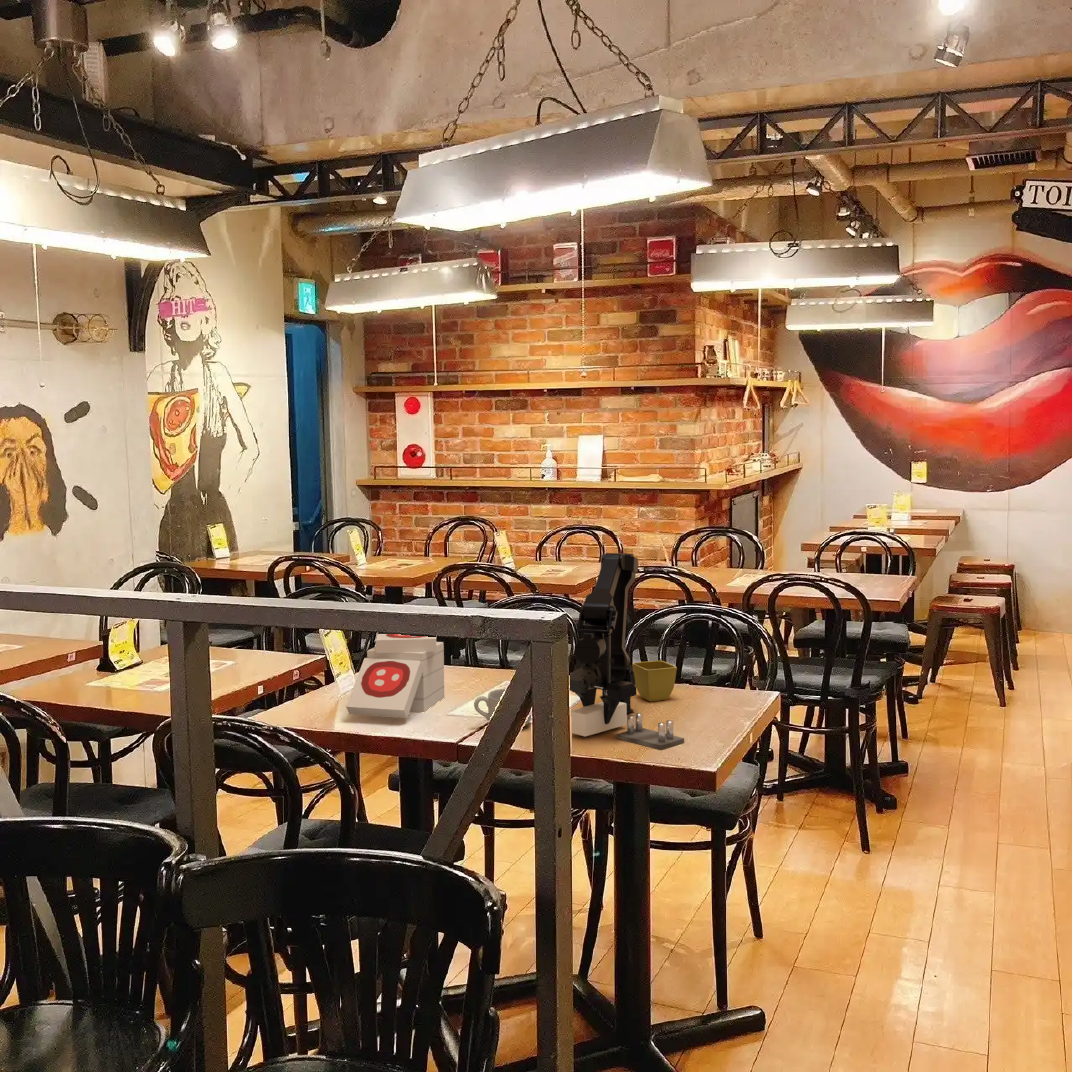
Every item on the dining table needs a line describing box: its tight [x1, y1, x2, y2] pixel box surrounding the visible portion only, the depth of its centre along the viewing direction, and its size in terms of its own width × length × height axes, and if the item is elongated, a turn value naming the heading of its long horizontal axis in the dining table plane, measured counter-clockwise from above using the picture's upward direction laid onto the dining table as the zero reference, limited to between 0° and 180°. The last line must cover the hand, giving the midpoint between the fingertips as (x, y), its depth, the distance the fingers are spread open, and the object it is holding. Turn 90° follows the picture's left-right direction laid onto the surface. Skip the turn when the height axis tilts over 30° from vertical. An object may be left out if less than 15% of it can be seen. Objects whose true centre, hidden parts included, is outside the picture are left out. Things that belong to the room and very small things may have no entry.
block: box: [570, 701, 628, 737], centre depth 259 cm, size 14×5×5 cm, turn 134°
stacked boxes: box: [345, 633, 445, 719], centre depth 281 cm, size 19×30×18 cm, turn 165°
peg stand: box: [616, 712, 685, 751], centre depth 252 cm, size 13×8×5 cm, turn 44°
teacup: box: [473, 687, 532, 725], centre depth 265 cm, size 14×11×8 cm
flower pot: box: [631, 660, 678, 703], centre depth 290 cm, size 9×9×9 cm
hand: (598, 721), depth 259 cm, fingers closed on block, 5 cm apart
